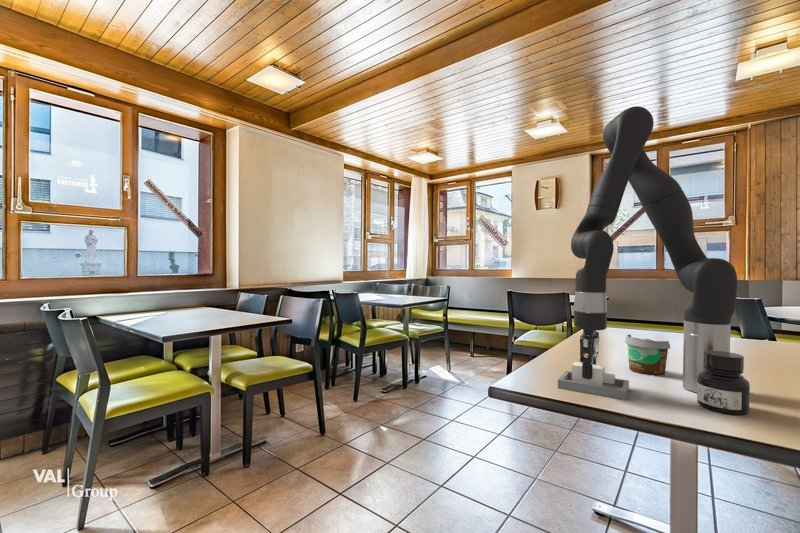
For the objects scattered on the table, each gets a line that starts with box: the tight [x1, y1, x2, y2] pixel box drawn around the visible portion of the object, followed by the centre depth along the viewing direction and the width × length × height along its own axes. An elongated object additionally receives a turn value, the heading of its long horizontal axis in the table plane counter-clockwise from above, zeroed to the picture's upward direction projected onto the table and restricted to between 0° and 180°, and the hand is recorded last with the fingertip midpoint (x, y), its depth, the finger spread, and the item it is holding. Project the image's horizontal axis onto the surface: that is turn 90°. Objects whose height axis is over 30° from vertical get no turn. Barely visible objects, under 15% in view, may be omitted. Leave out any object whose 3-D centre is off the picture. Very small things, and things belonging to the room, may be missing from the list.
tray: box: [557, 370, 630, 401], centre depth 98 cm, size 15×10×2 cm, turn 56°
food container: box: [624, 333, 672, 377], centre depth 114 cm, size 12×6×10 cm, turn 25°
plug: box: [571, 361, 616, 386], centre depth 98 cm, size 4×9×5 cm, turn 55°
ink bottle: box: [696, 351, 751, 416], centre depth 86 cm, size 10×9×12 cm
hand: (589, 375), depth 99 cm, fingers open, 6 cm apart
